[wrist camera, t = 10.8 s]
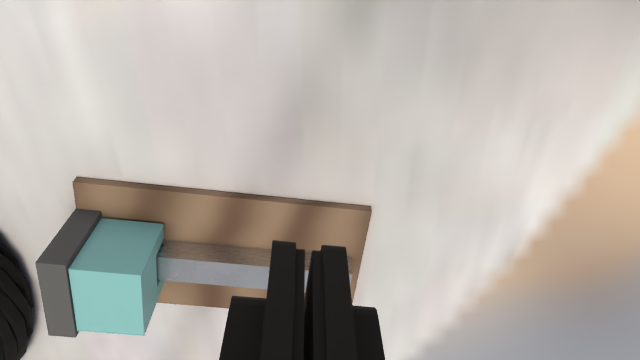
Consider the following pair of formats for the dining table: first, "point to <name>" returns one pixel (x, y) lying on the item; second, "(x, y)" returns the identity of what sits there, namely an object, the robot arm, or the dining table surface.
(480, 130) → the dining table surface
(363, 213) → the board
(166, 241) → the rail
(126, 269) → the slider
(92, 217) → the stop
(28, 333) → the cable lock
